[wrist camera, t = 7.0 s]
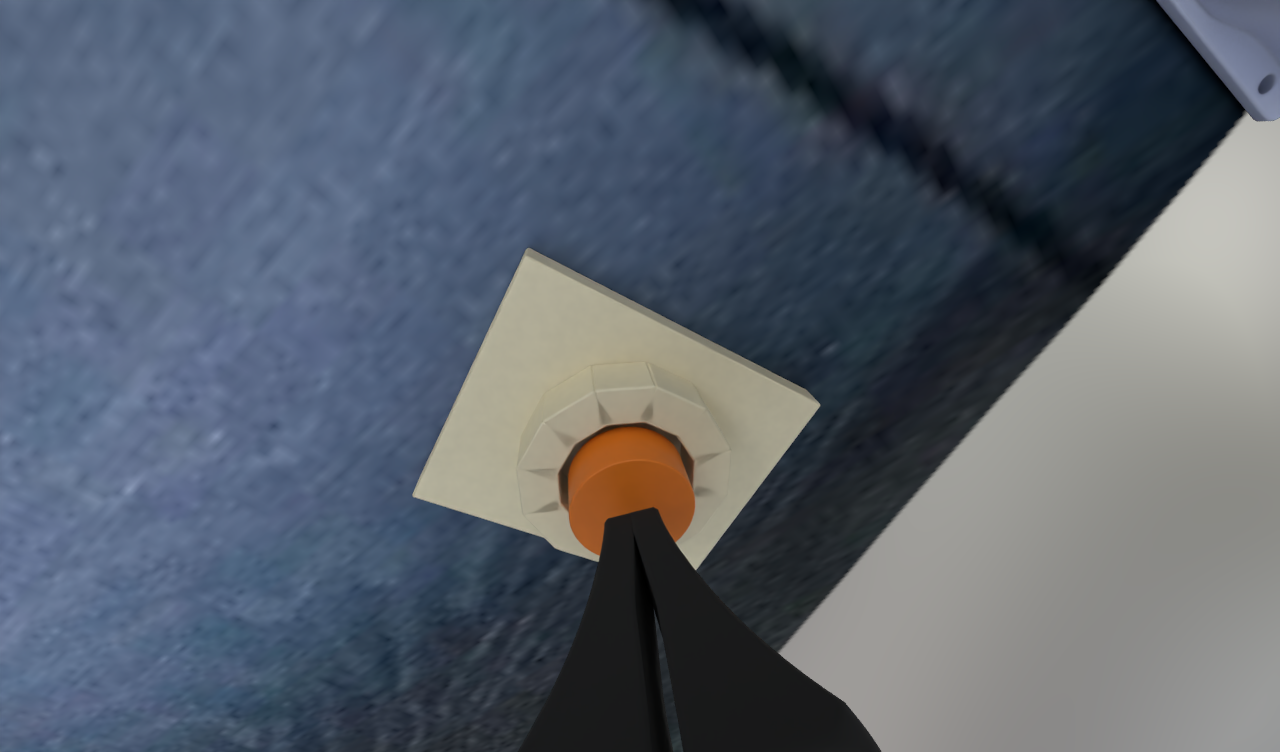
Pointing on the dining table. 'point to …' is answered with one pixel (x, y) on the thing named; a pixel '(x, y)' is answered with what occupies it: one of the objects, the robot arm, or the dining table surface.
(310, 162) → the dining table surface
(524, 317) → the button block
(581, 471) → the orange button
